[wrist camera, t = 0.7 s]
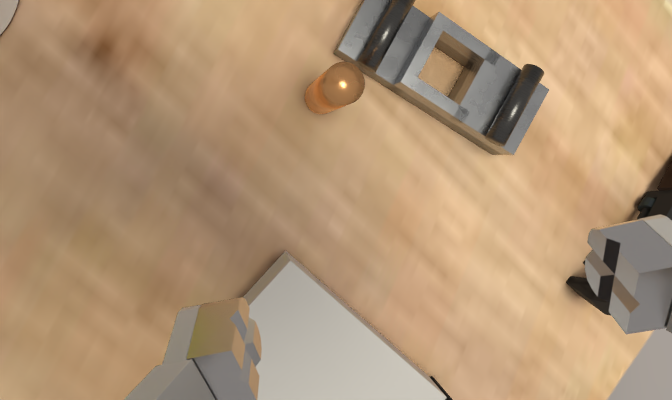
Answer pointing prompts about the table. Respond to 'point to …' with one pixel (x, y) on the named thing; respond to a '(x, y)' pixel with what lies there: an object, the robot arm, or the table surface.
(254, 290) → the disc drive
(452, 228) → the table surface
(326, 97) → the copper pin
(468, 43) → the metal clamp fixture
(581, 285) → the adjustable wrench
